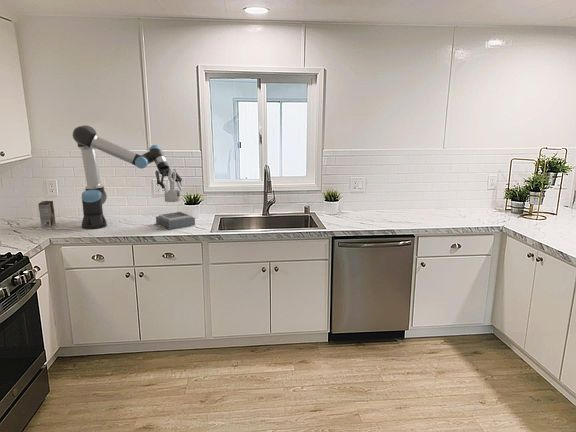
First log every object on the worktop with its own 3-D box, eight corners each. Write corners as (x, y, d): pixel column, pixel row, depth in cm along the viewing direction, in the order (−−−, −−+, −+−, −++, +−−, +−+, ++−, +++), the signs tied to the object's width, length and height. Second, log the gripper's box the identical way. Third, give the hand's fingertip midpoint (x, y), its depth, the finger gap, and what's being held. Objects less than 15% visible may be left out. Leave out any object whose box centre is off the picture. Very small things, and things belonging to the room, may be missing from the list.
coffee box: (45, 224, 285) (42, 200, 282) (56, 224, 287) (53, 200, 283) (40, 228, 277) (37, 203, 273) (51, 227, 278) (48, 203, 274)
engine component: (162, 201, 283) (176, 202, 281) (160, 170, 278) (174, 171, 276) (169, 198, 293) (183, 199, 291) (168, 168, 288) (182, 169, 286)
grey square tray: (156, 223, 291) (155, 214, 290) (181, 219, 303) (181, 210, 302) (168, 229, 277) (168, 219, 276) (195, 225, 290) (194, 215, 288)
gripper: (175, 167, 300) (187, 192, 292) (144, 169, 286) (156, 196, 278) (178, 160, 295) (191, 185, 287) (147, 162, 281) (159, 189, 273)
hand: (174, 190), depth 283 cm, fingers closed on engine component, 10 cm apart
